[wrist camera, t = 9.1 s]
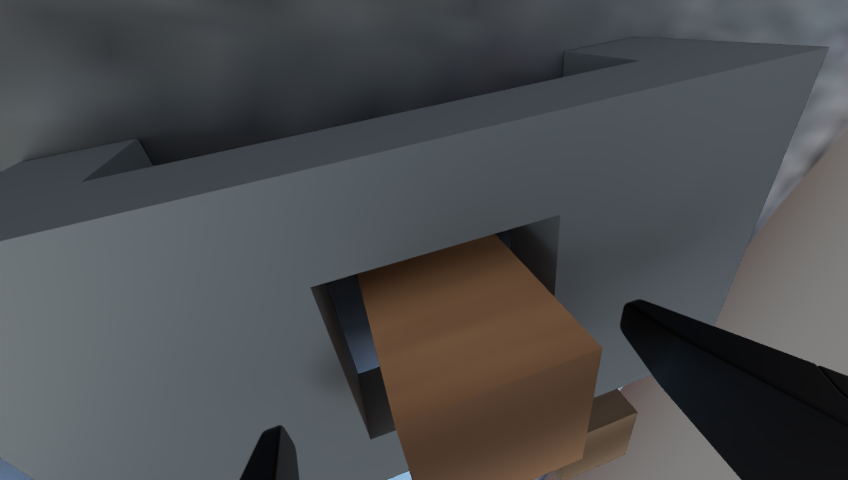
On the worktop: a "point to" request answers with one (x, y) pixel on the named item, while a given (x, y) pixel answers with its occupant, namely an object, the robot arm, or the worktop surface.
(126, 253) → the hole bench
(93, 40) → the worktop surface
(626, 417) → the short pin
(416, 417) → the long pin
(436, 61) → the worktop surface
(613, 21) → the worktop surface
